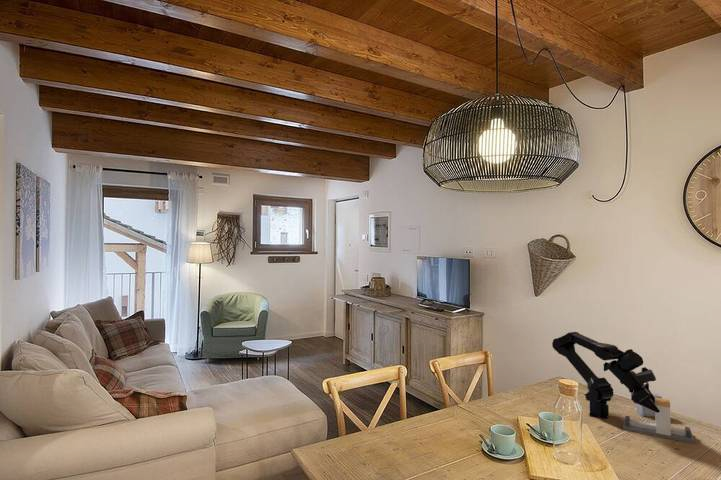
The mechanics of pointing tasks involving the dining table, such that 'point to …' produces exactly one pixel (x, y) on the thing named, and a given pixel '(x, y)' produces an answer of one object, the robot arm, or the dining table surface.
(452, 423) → the dining table surface
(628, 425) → the board
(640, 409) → the medicine box
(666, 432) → the white upright block
